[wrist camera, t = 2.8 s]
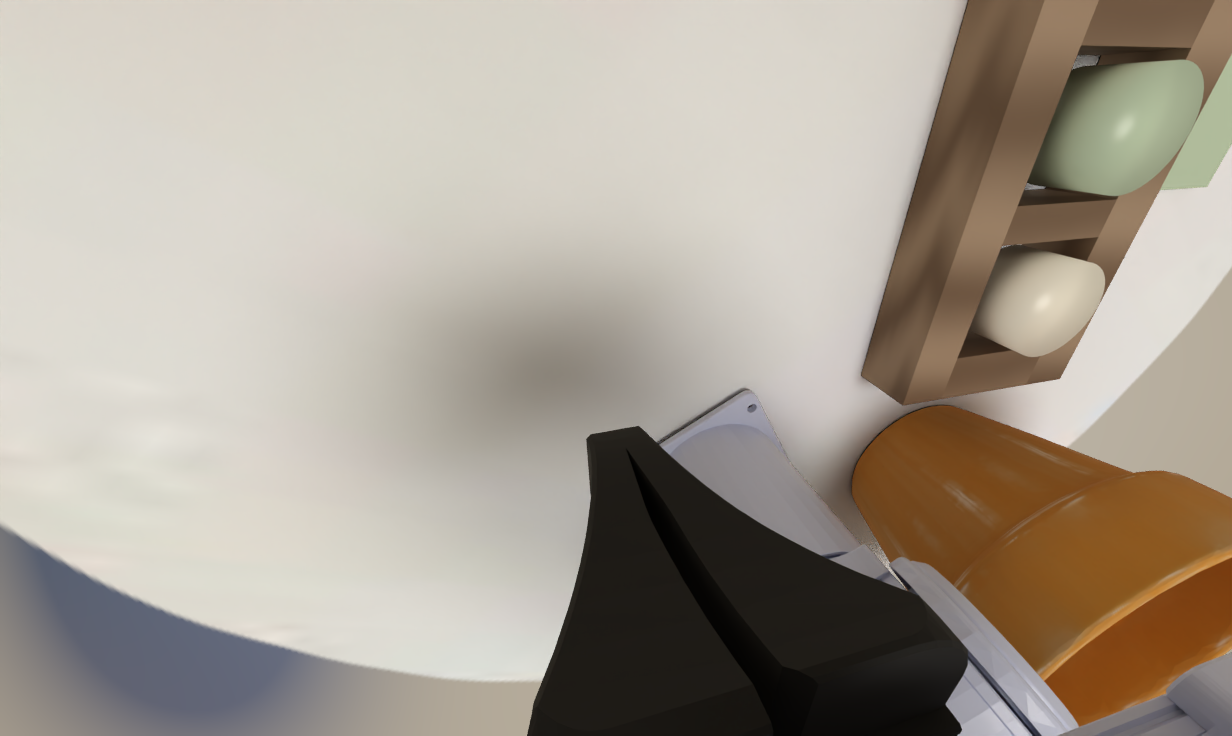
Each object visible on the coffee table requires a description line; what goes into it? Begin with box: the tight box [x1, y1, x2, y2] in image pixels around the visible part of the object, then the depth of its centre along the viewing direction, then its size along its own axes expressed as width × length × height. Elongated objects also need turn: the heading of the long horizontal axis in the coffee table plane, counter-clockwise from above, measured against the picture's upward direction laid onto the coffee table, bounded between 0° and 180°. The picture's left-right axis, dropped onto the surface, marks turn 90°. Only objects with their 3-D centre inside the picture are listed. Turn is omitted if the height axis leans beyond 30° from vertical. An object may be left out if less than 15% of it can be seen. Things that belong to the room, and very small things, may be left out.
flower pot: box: [852, 406, 1232, 727], centre depth 25 cm, size 14×14×13 cm
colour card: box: [1160, 54, 1232, 190], centre depth 23 cm, size 6×6×1 cm
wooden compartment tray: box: [861, 0, 1232, 405], centre depth 20 cm, size 24×10×3 cm, turn 1°
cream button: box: [969, 245, 1105, 357], centre depth 22 cm, size 4×4×3 cm
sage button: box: [1027, 60, 1204, 196], centre depth 18 cm, size 4×4×3 cm
